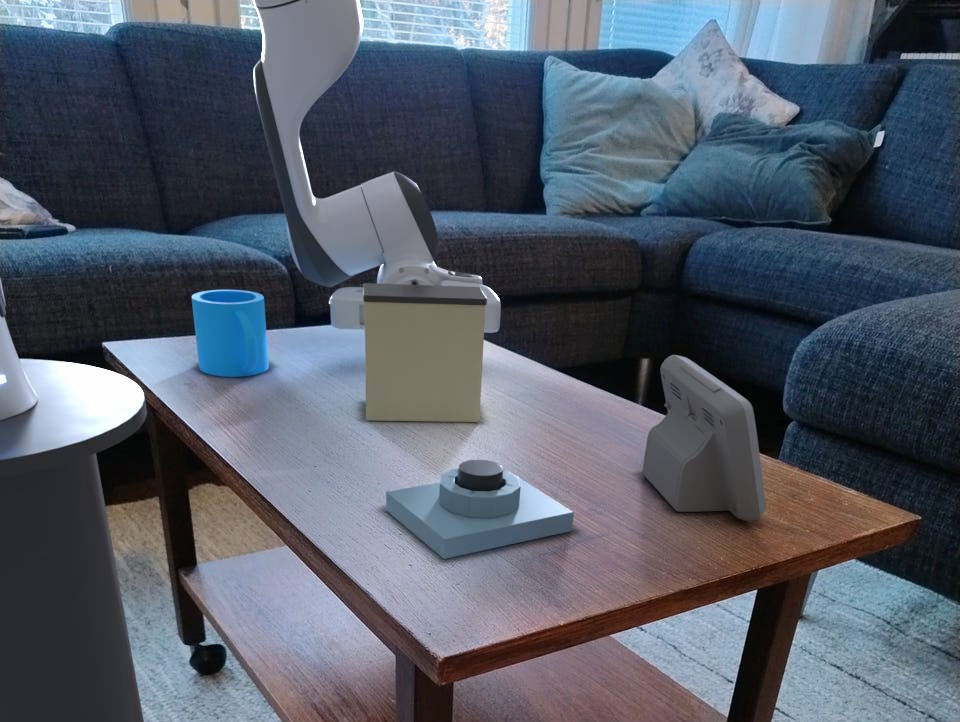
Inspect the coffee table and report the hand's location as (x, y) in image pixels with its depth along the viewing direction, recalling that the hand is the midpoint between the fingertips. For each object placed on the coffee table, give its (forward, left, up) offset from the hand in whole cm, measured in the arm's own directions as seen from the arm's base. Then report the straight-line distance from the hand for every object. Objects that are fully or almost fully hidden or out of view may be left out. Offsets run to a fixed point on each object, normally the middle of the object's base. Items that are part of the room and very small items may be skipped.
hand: (419, 325), depth 102 cm
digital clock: (+9, -38, -7) cm, 40 cm away
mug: (-17, +14, -7) cm, 23 cm away
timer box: (-13, -35, -7) cm, 38 cm away
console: (-4, -8, -7) cm, 12 cm away
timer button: (-13, -35, -4) cm, 38 cm away
